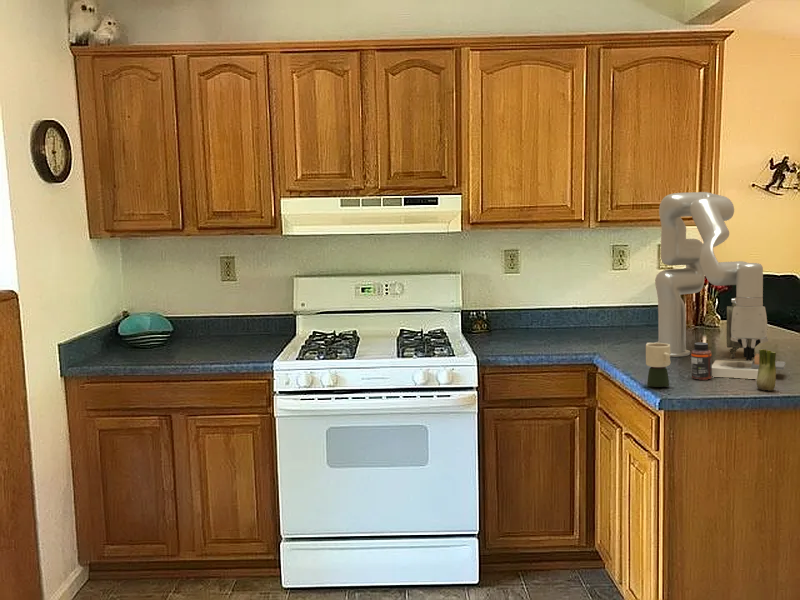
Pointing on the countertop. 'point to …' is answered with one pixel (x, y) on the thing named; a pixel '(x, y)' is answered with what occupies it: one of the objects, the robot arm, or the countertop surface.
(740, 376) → the socket block
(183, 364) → the countertop surface
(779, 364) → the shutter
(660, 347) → the character mug
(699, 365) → the supplement bottle
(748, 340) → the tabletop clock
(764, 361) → the fennel bulb
